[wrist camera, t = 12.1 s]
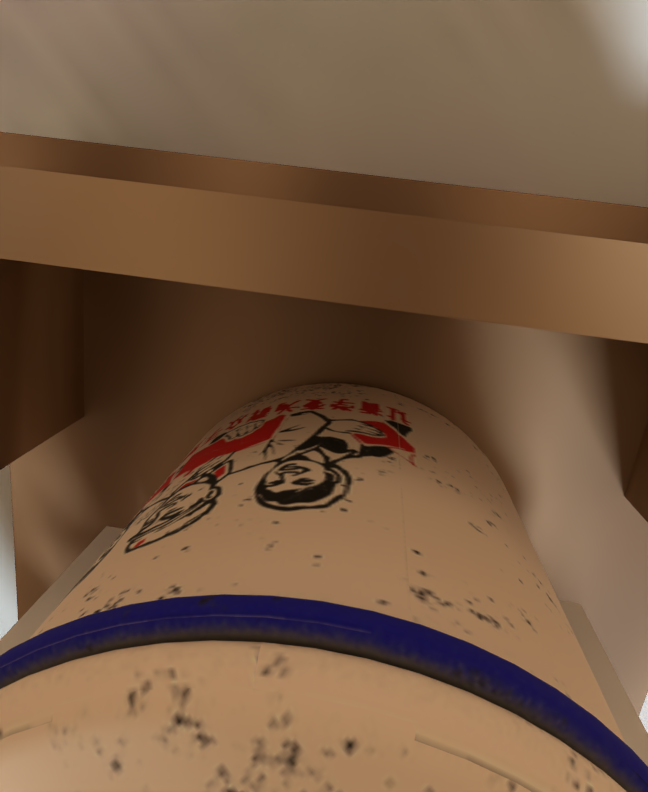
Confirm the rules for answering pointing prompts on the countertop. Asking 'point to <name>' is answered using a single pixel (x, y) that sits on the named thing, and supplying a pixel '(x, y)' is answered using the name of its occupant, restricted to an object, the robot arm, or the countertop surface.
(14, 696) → the teacup with lid
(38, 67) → the countertop surface
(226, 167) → the walnut cup stand
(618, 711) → the robot arm
